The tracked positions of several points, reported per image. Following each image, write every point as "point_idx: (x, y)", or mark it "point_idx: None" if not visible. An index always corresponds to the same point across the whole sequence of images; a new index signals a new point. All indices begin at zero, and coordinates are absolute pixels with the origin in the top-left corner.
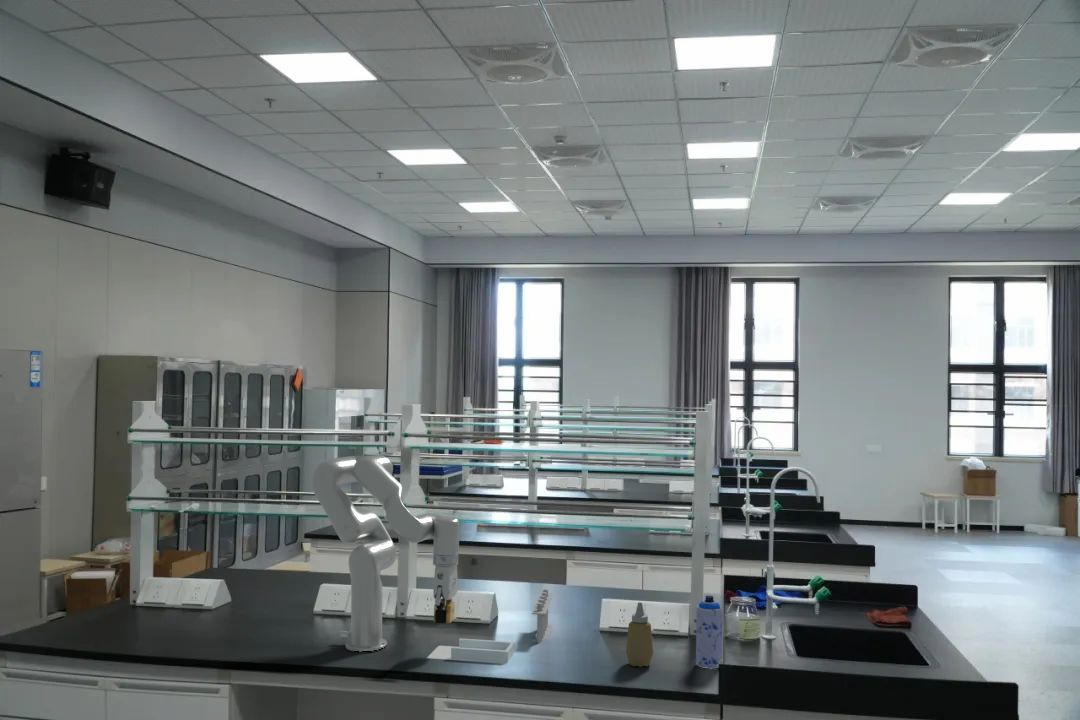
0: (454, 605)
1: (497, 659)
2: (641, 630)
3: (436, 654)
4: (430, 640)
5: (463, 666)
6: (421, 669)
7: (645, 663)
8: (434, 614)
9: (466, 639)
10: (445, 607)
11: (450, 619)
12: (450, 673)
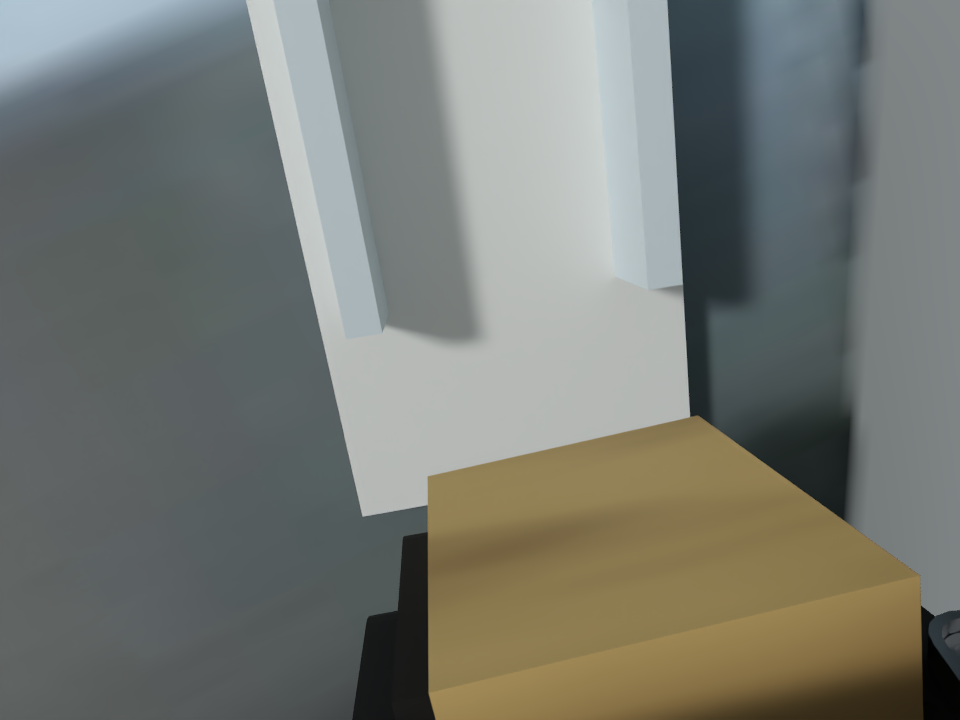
0: (436, 619)
1: None
2: None
3: (588, 428)
4: (163, 662)
5: None
6: (810, 411)
7: None
8: None
9: (354, 254)
10: (947, 661)
11: (709, 439)
12: (851, 165)
